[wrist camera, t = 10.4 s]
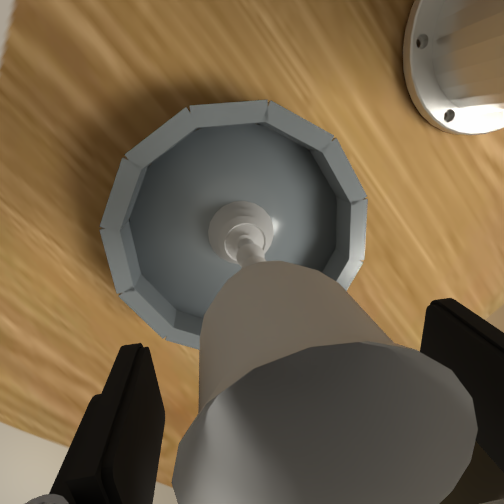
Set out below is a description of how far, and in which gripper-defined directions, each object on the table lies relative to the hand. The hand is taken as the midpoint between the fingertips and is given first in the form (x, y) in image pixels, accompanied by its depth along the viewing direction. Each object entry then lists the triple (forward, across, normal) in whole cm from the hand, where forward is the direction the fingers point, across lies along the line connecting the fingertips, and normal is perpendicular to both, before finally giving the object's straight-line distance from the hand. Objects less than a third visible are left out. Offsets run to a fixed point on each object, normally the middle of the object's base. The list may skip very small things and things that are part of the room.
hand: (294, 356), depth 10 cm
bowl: (+15, 0, 0) cm, 15 cm away
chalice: (+15, 0, 0) cm, 15 cm away
